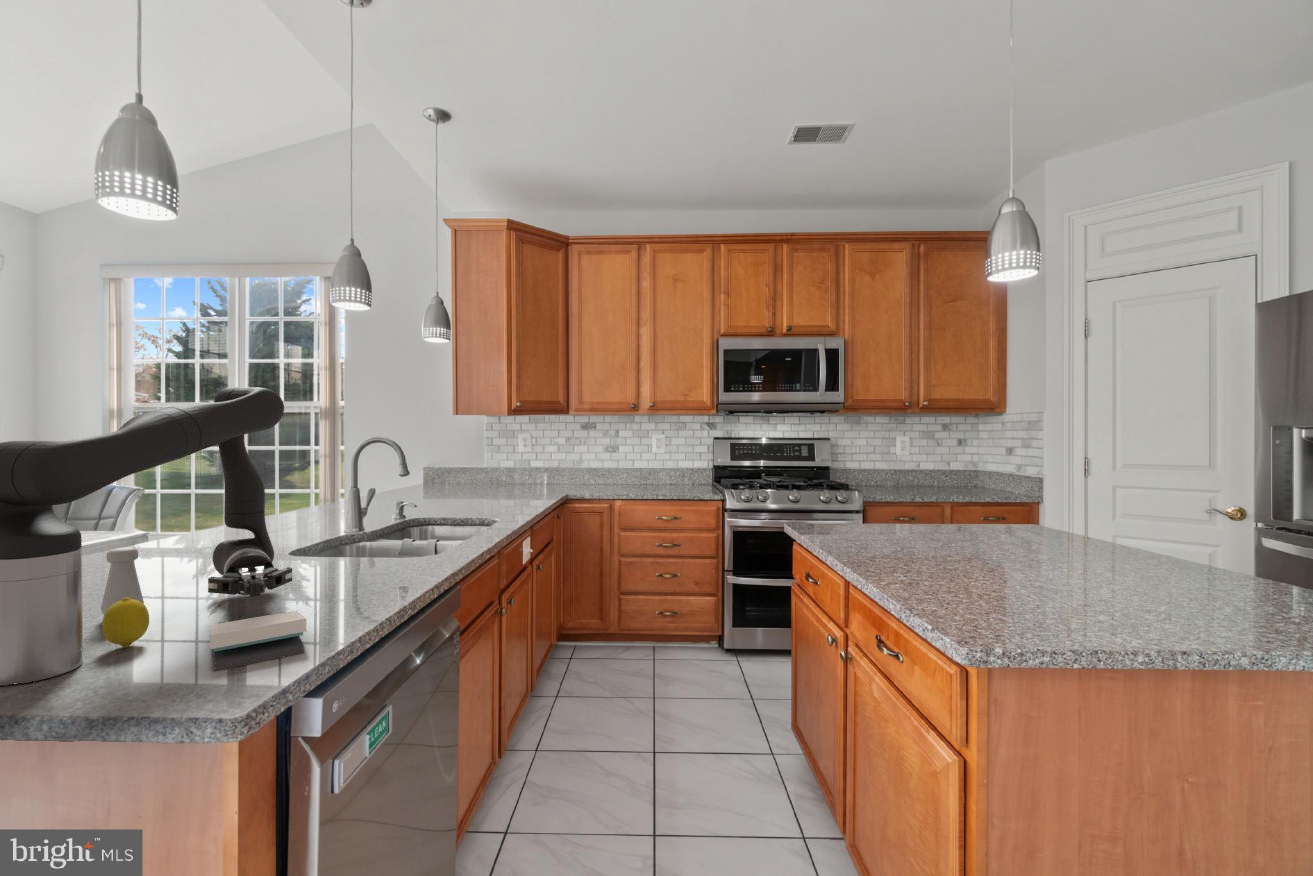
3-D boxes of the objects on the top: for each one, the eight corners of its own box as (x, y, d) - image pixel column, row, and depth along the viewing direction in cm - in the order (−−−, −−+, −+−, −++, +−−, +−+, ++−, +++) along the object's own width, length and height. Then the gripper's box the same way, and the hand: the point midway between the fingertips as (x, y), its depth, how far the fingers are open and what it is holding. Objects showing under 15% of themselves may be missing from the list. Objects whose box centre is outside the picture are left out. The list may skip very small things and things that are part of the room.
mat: (214, 671, 82) (214, 664, 82) (214, 648, 91) (214, 641, 91) (303, 652, 89) (303, 646, 89) (295, 632, 97) (295, 627, 97)
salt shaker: (135, 621, 103) (134, 550, 103) (94, 625, 101) (93, 552, 100) (149, 612, 108) (149, 544, 108) (111, 615, 106) (110, 546, 106)
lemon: (120, 655, 87) (120, 603, 87) (92, 652, 89) (92, 601, 88) (158, 642, 93) (158, 593, 93) (131, 639, 94) (131, 591, 94)
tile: (209, 640, 92) (210, 652, 82) (209, 624, 92) (210, 635, 83) (297, 625, 99) (306, 634, 90) (296, 610, 99) (306, 618, 90)
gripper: (204, 555, 104) (204, 574, 91) (289, 546, 112) (301, 562, 99) (204, 596, 104) (204, 620, 91) (289, 584, 113) (301, 605, 99)
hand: (255, 590), depth 95 cm, fingers closed
